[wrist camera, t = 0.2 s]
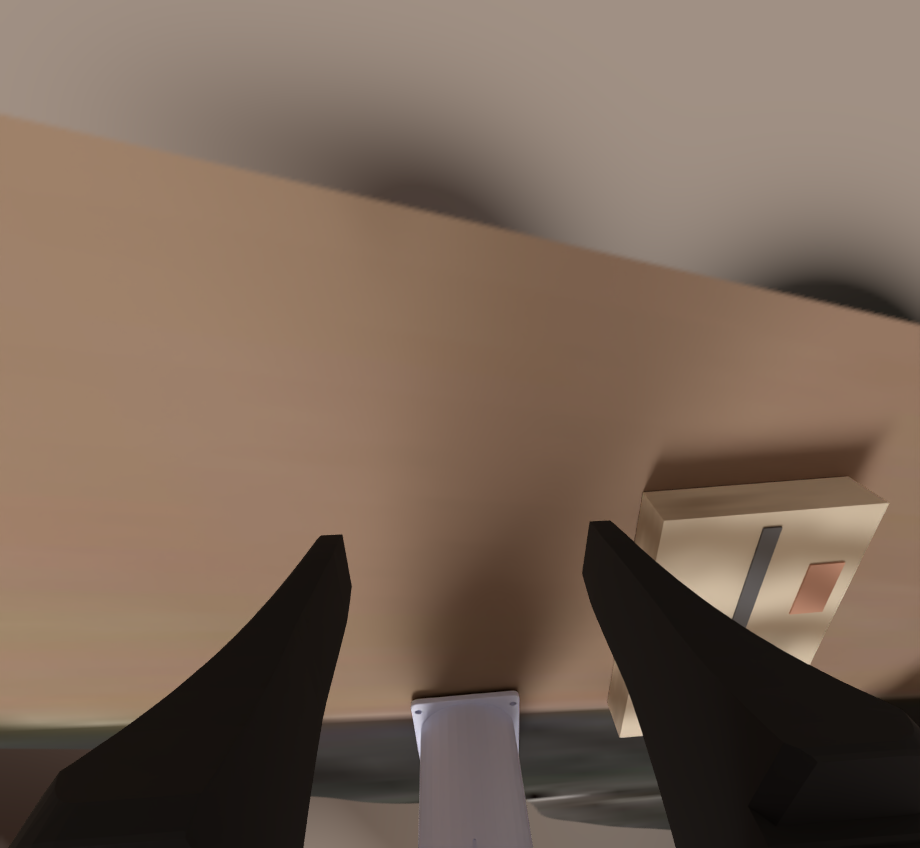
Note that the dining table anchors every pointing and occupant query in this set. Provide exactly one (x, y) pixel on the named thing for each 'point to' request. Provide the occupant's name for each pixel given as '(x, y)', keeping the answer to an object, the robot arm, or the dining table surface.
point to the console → (759, 557)
